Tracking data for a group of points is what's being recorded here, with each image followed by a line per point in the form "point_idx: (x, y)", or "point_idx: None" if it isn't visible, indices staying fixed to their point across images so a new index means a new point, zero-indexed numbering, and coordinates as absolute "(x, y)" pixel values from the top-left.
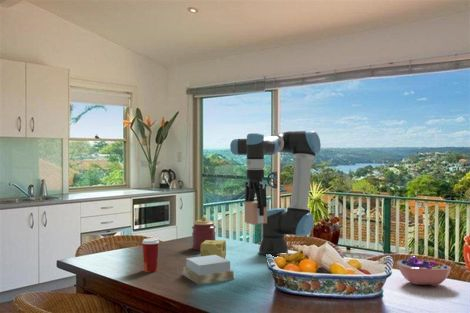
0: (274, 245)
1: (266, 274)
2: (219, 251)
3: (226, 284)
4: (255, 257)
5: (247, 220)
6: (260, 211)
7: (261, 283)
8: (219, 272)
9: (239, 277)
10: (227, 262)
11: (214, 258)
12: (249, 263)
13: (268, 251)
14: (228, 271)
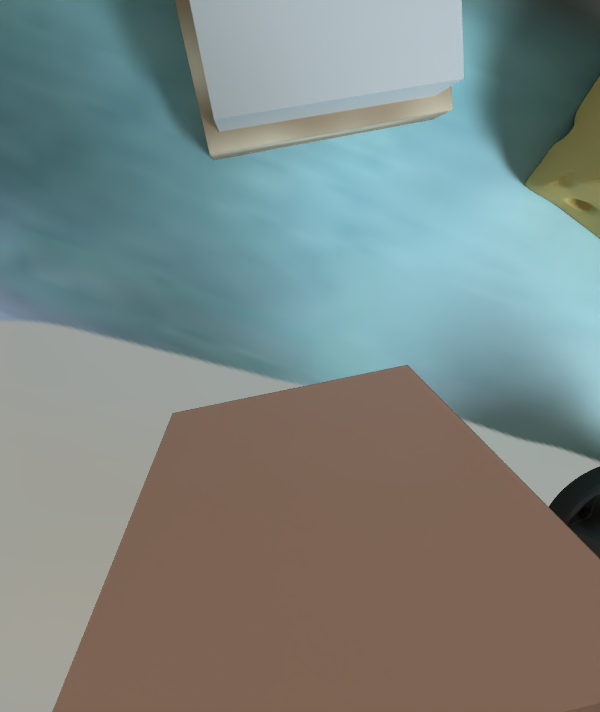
0: (592, 547)
1: (251, 365)
2: (592, 170)
3: (112, 73)
4: (578, 420)
5: (338, 395)
6: None
7: (92, 283)
8: None
9: (237, 205)
10: (209, 94)
11: (348, 19)
12: (485, 353)
13: (583, 498)
14: (207, 114)
